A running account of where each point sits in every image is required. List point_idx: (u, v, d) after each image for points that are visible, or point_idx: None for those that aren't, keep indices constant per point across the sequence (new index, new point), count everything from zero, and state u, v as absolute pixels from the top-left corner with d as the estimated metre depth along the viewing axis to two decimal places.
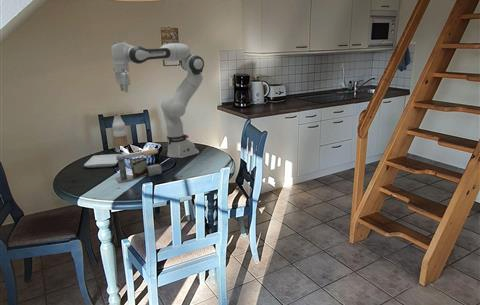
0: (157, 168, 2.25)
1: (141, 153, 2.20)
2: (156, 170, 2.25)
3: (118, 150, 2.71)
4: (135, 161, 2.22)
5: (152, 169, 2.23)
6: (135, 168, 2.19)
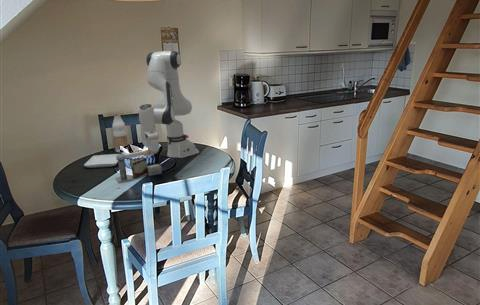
0: (157, 168, 2.24)
1: (141, 153, 2.20)
2: (156, 170, 2.24)
3: (118, 150, 2.71)
4: (135, 161, 2.22)
5: (152, 169, 2.23)
6: (135, 168, 2.19)
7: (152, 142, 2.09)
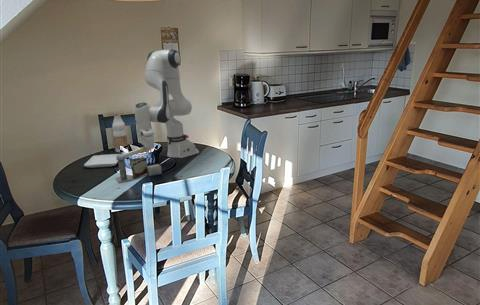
0: (157, 168, 2.24)
1: (137, 151, 2.24)
2: (156, 170, 2.24)
3: (118, 150, 2.71)
4: (135, 161, 2.22)
5: (152, 169, 2.23)
6: (135, 168, 2.19)
7: (147, 139, 2.14)
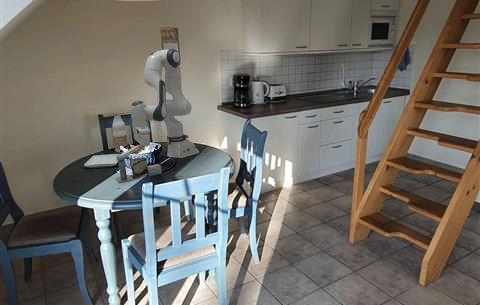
0: (157, 168, 2.24)
1: (133, 150, 2.26)
2: (156, 170, 2.24)
3: (118, 150, 2.71)
4: (135, 161, 2.22)
5: (152, 169, 2.23)
6: (135, 168, 2.19)
7: (143, 137, 2.19)
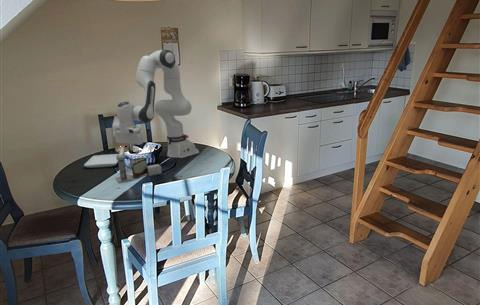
0: (157, 168, 2.24)
1: (123, 150, 2.26)
2: (156, 170, 2.24)
3: None
4: (135, 161, 2.22)
5: (152, 169, 2.23)
6: (135, 168, 2.19)
7: (138, 136, 2.24)
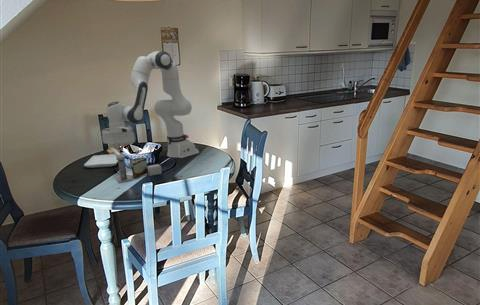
0: (157, 168, 2.24)
1: None
2: (156, 170, 2.24)
3: None
4: (135, 161, 2.22)
5: (152, 169, 2.23)
6: (135, 168, 2.19)
7: (131, 134, 2.27)
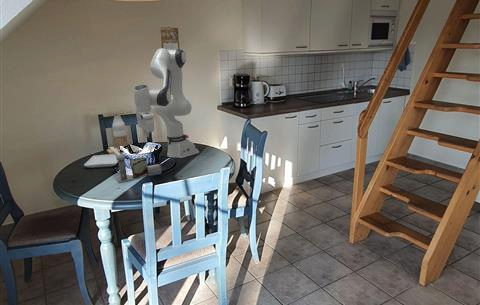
0: (157, 168, 2.24)
1: None
2: (156, 170, 2.24)
3: None
4: (135, 161, 2.22)
5: (152, 169, 2.23)
6: (135, 168, 2.19)
7: (147, 122, 2.08)
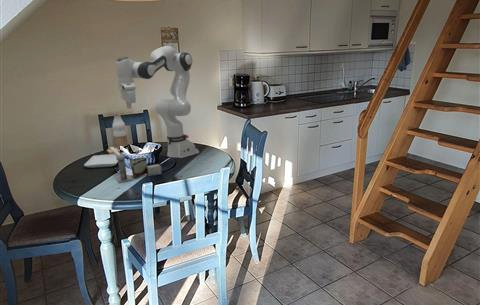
0: (157, 168, 2.24)
1: None
2: (156, 170, 2.24)
3: None
4: (135, 161, 2.22)
5: (152, 169, 2.23)
6: (135, 168, 2.19)
7: (129, 93, 2.13)
